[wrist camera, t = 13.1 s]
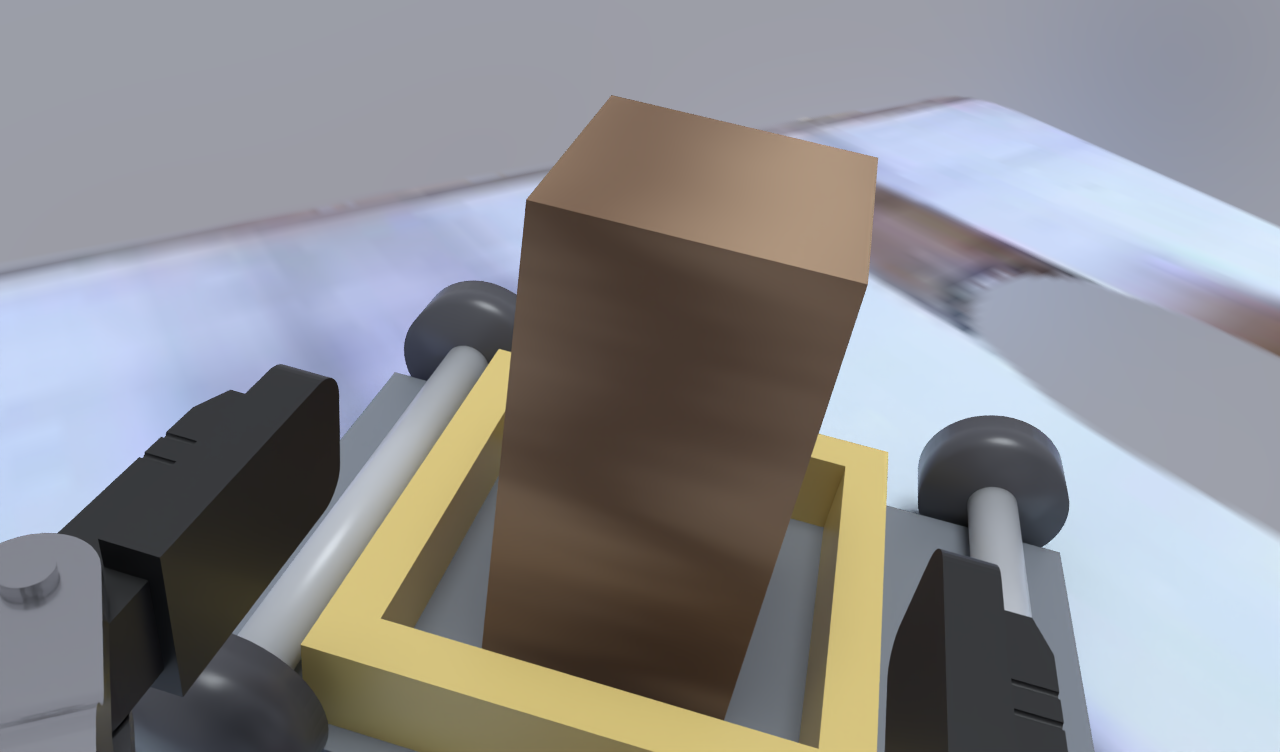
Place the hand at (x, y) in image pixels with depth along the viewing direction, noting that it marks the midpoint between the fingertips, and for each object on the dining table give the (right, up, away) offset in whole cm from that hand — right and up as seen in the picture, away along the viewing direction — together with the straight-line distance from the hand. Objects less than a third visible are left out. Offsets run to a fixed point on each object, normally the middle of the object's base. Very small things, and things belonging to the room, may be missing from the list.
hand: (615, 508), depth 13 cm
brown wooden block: (0, -3, +9) cm, 9 cm away
